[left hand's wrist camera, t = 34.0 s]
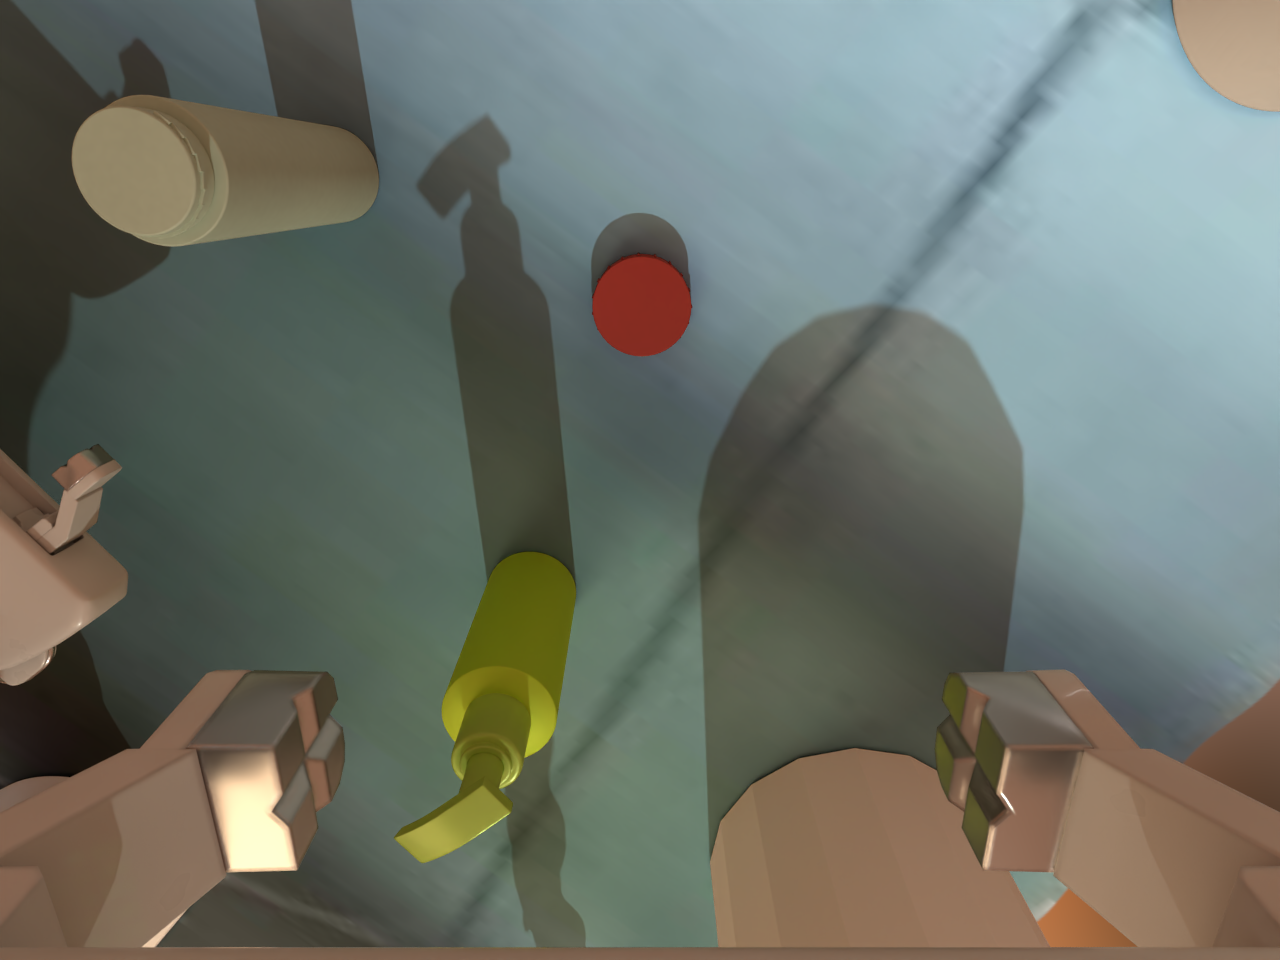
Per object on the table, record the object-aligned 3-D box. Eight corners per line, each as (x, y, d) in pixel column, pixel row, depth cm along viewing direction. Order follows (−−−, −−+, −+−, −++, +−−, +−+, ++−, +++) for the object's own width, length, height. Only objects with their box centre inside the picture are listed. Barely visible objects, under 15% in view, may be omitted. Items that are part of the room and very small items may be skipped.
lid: (651, 231, 45) (652, 233, 43) (710, 312, 46) (712, 317, 45) (573, 293, 46) (570, 297, 45) (632, 370, 48) (632, 376, 46)
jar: (351, 240, 45) (170, 279, 28) (272, 185, 44) (33, 189, 27) (396, 165, 44) (234, 155, 26) (315, 105, 43) (91, 55, 25)
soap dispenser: (457, 591, 53) (357, 818, 34) (537, 534, 51) (478, 738, 33) (514, 652, 54) (448, 899, 36) (593, 598, 53) (568, 827, 34)
